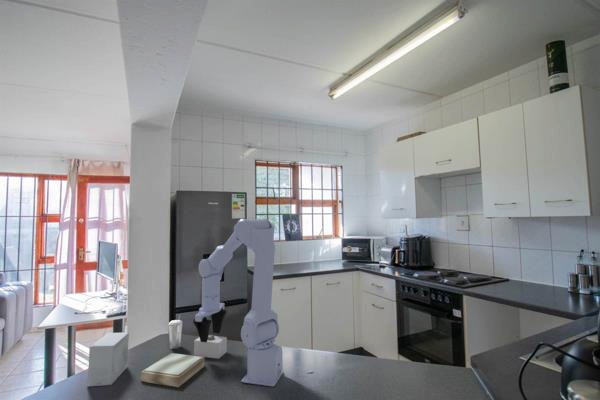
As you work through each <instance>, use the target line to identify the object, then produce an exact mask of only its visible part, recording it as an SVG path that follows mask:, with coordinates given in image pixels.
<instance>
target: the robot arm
mask: <svg viewBox="0 0 600 400" xmlns="http://www.w3.org/2000/svg"><path fill="white" fill-rule="evenodd" d="M274 236H275V226H274V225H273V224H272V222H271V221H270V220H269V219H267V218H262V219H258V218H257V219H256V218H255V219H254V218H253V219H252V218H251V219H247V218H240V219H239V220H238V221H237V222H236V224H235V225H233V233H232V234H231V235H230V237H229V238H228V239H227V241H226V242H225V243H224V244H221V245H218V246H216V247H215V250H214V251H213V252H212V253H211V254H210V255H209V257H207V258H206V259H205V258H203V259H200V261H199V264H198V274H199V275H200V277H201V278H202V279H201V307H200V308H199V309H198V312H197V313H196V314H195V315H194V316H195V318H194V319H193V321H192V322H193V325H194V326H195V328H196V330H197V333H198V338H199V337H200V341H201V342H207V340H208V335H209V332H210V327H211V326H212V332H213V334H220V333H221V330H222V325H223V322H224V319H225V317H226V314H227V310H225V303H224V302H221V301H220V300H221V295H220V294H221V280H222V276H223V273H224V270H225V266H226V265H227V264H228V263H229V262H230V261H231V260H232V259H233V256H234V254H233V253H234V251H236V250H237V249H238V248H239V247H240V246H241V245H242V244H244V245H245V246H246V247H247V248H248V249H250V250H252V252H253V253H254V261H253V262H254V263H253V279H252V293H251V294H252V295H251V306H250V308H251V309H250V310H249V311H248V312H247V314H246V315H245V317H243V325H242V326H241V330H240V338H241V341H242V342H243V344H244V346H245V347H246V349H247V353H246V355H247V357H246V358H247V359H246V360H247V362H246V363H247V366H246V368H247V371H246V372H247V373H246V375H244V376H243V378H242V379H241V381H240V382H242V383H244V384H245V383H246V384H253V385H259V386H260V385H261V386H265V387H267V386H268V387H275V386H276V384H277V383H278V382H279V380H280V378H282V377H281V376H282V375H283V374H284V370H283V368H284V366H283V348H282V346H281V345H277V344H275V342H276V338H277V337H278V335H279V333H280V326H279V320H278V313H277V312H276V311H274V310H273V309H272V299H273V296H272V295H273V281H274V266H275V251H276V246H275V240H274V239H275V238H274ZM208 317H210V318H211V319H207V318H208ZM211 324H212V325H211Z"/></svg>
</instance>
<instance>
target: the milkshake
mask: <svg viewBox="0 0 600 400" xmlns="http://www.w3.org/2000/svg"><path fill="white" fill-rule="evenodd" d="M178 315H179V316H178V319H174V320H171V321H170V322H169V323H168V335H169V337H168V338H169V348H170V349H171V350H177V349H179V348H180V347H181V342H182V341H181V339H182V332H183V331H182V329H183V321H182V320H180V319H181V314H178Z"/></svg>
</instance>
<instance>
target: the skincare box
mask: <svg viewBox="0 0 600 400" xmlns="http://www.w3.org/2000/svg"><path fill="white" fill-rule="evenodd" d="M129 334H130V333H129V332H128V331H127V332H125V331H124V332H107V333H106V334H104V335H103V336H102V337H101V338H99V339H98V340H96V341H95V342H94V343H92V345H90V346H89V350H88V351H89V352H88V353H89V354H88V371H87V379H86V380H87V381H86V383H87V384H86V387H87V388H88V387H98V386H99V387H101V386H112V385H113V384H114V382H116V380H117V379H118V378H119V377H120V376H121V375H122V373H123V372H124V371H125V370H126V369H127V368H128V355H129V336H130V335H129Z"/></svg>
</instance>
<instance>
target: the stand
mask: <svg viewBox="0 0 600 400" xmlns="http://www.w3.org/2000/svg"><path fill="white" fill-rule="evenodd" d="M205 359H206V357H201V356H194V355H189V354H181V353H173V352H172V353H169V354H168V355H166V356H164V357H162V358H161V359H159V360H158V361H156V362H154V363H153V364H152V365H150V366H148V367H146V368H145V369H144V370H142V371H140V375H141V376H140V382H144V383H150V384H156V385H162V386H168V387H175V388H179V387H181V386H182V385H183V384H184V383H186V382H187V381H188V380H189V379H191V378H192V377H193V376H194V375H195V374H197V373H198V372H200V371H201V370H202V369H204V367H205V363H206V362H205Z"/></svg>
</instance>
